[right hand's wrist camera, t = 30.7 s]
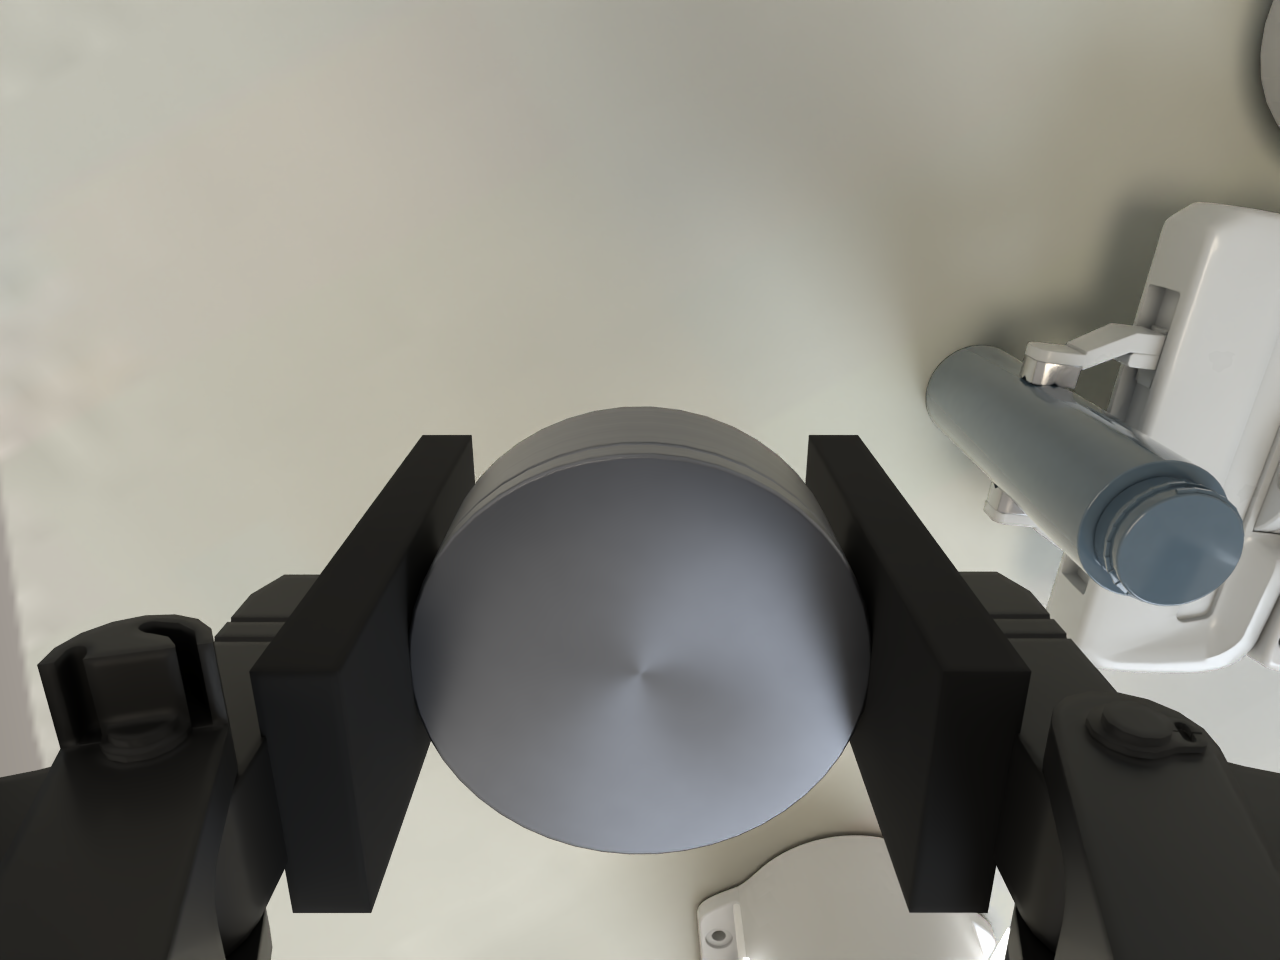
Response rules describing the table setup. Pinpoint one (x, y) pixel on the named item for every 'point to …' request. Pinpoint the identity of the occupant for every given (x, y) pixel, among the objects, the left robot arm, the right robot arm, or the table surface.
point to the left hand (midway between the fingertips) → (1008, 434)
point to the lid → (640, 634)
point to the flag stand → (1272, 60)
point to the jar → (1090, 480)
